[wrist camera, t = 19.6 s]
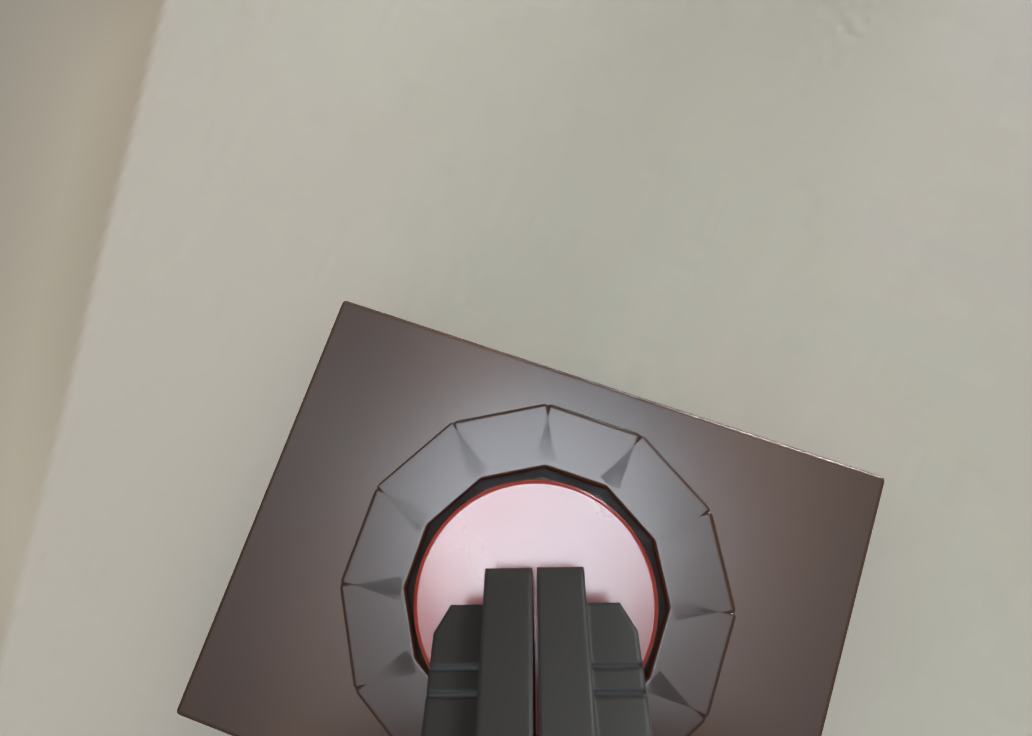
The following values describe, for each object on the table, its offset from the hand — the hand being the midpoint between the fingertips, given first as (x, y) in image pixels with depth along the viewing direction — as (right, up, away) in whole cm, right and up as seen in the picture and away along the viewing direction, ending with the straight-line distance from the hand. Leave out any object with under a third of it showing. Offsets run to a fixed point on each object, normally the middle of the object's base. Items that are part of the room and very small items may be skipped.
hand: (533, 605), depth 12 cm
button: (0, -1, +2) cm, 2 cm away
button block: (0, -1, +6) cm, 6 cm away
